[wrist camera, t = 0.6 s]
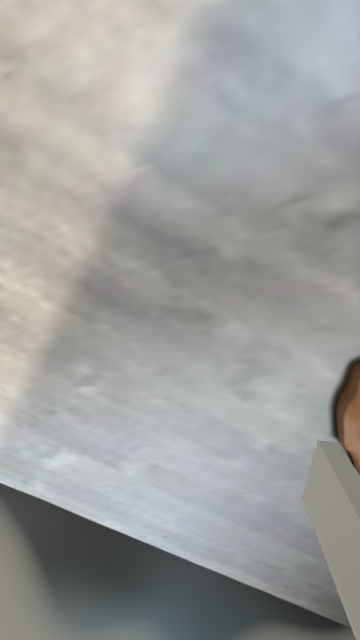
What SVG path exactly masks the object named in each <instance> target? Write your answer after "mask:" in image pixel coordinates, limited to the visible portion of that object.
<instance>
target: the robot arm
mask: <svg viewBox="0 0 360 640" xmlns="http://www.w3.org/2000/svg"><path fill="white" fill-rule="evenodd" d="M303 501H304V503H305V506H306V508H307V511H308V514H309V516H310V519H311V522H312V524H313V527H314V530H315V532H316V535H317V538H318V540H319V543H320V545H321V548H322V551H323V553H324V556H325V559H326V561H327V564H328V567H329V569H330V572H331V575H332V577H333V580H334V583H335V585H336V588H337V590H338V593H339V596H340V598H341V601H342V604H343V606H344V609H345V612H346V614H347V617H348V620H349V622H350V625H351V627H352V630H353V633H354V635H355V638H356V640H360V476H359V475H358V473H357V471H356V470H355V468H354V466H353V465H352V463H351V462H350V460H349V458H348V457H347V455H346V454H345V452H344V450H343V449H342V447H341V445H340V444H339V443H338V442H327V441H318V442H317V446H316V449H315V453H314V457H313V461H312V464H311V468H310V472H309V476H308V479H307V483H306V487H305V491H304V494H303Z"/></svg>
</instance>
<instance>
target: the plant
mask: <svg viewBox="0 0 360 640" xmlns="http://www.w3.org/2000/svg"><path fill="white" fill-rule="evenodd" d="M336 417H337V435H338V438H339V440H340V442H341V443H342V445H343V447H344V448H345V449H346V450H347V451H349V452H350V453H351V456H352V459H353V465H354V468H355V469H356V470H357V472H358V473H359V475H360V362H359V363H357V364H356V365H354V366H353V368H352V372H351V374H350V377H349V380H348V383H347V385H346V387H345V389H344V391H343V392H342V393H341V395H340V397H339V399H338V403H337V407H336Z"/></svg>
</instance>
